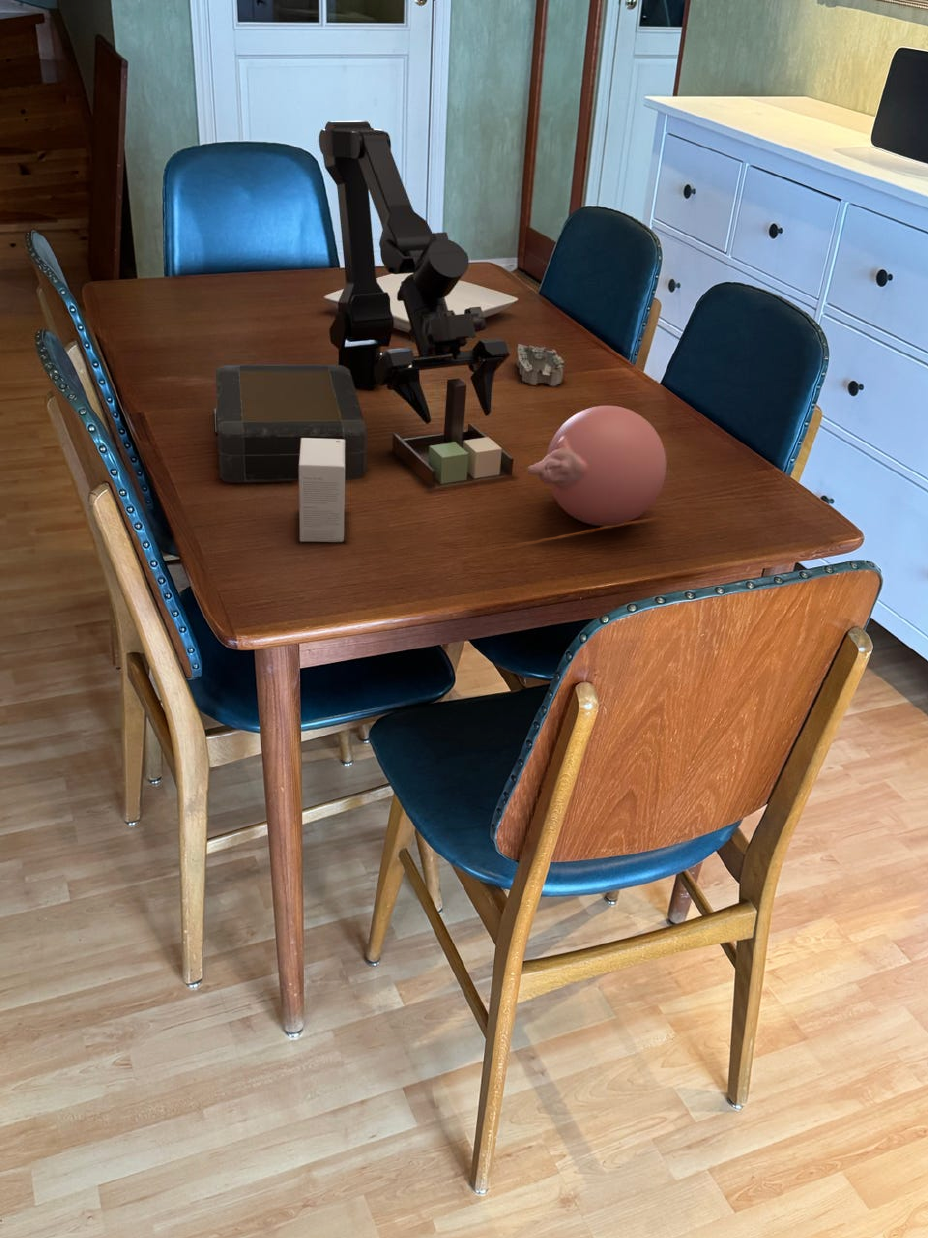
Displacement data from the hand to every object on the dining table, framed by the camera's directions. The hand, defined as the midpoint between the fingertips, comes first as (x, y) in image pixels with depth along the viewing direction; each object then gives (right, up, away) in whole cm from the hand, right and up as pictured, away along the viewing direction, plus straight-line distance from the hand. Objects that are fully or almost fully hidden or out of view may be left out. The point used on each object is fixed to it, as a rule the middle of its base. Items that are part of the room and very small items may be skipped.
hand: (458, 418), depth 152 cm
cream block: (+3, -7, +3) cm, 8 cm away
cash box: (-25, -3, +7) cm, 26 cm away
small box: (-17, -16, -13) cm, 27 cm away
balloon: (+16, -15, -6) cm, 23 cm away
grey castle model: (+13, +14, +38) cm, 43 cm away
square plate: (-7, +31, +61) cm, 69 cm away
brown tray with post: (-1, -6, +5) cm, 8 cm away
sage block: (-2, -8, +1) cm, 8 cm away
